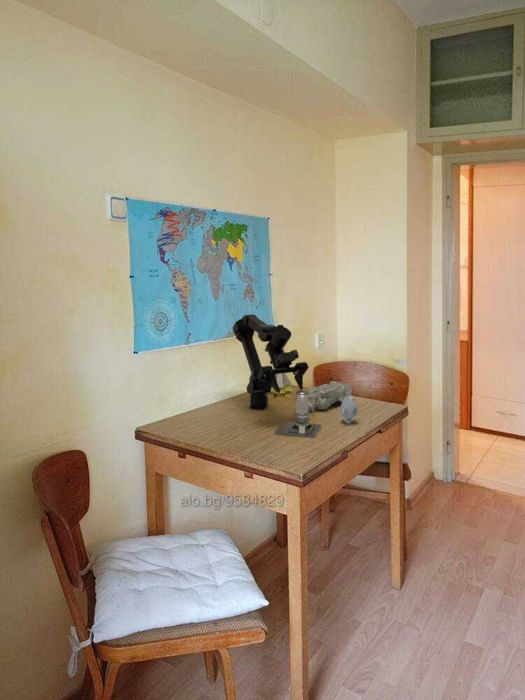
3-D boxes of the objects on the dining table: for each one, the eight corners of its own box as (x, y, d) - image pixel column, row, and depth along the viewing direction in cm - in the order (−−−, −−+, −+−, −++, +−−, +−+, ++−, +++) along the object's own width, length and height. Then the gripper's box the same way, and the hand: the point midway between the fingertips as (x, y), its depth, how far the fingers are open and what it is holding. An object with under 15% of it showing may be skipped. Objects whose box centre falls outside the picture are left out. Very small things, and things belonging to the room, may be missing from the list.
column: (292, 430, 184) (293, 393, 182) (296, 425, 189) (296, 389, 186) (307, 431, 182) (307, 394, 180) (310, 427, 187) (311, 390, 185)
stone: (361, 373, 224) (318, 396, 203) (361, 397, 227) (319, 421, 207) (337, 368, 232) (293, 390, 212) (338, 391, 235) (295, 414, 215)
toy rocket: (290, 392, 241) (291, 326, 236) (294, 399, 230) (294, 330, 224) (264, 392, 241) (264, 327, 236) (266, 399, 229) (266, 330, 224)
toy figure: (349, 427, 191) (350, 395, 189) (334, 424, 194) (334, 392, 192) (362, 420, 199) (363, 389, 197) (347, 417, 203) (348, 386, 201)
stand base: (274, 434, 184) (274, 424, 183) (283, 423, 195) (283, 414, 195) (314, 438, 180) (314, 428, 179) (321, 427, 191) (321, 417, 191)
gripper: (261, 344, 188) (274, 382, 181) (306, 340, 196) (321, 376, 189) (251, 361, 197) (264, 398, 189) (296, 357, 205) (310, 392, 197)
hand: (290, 390), depth 191 cm, fingers open, 9 cm apart
